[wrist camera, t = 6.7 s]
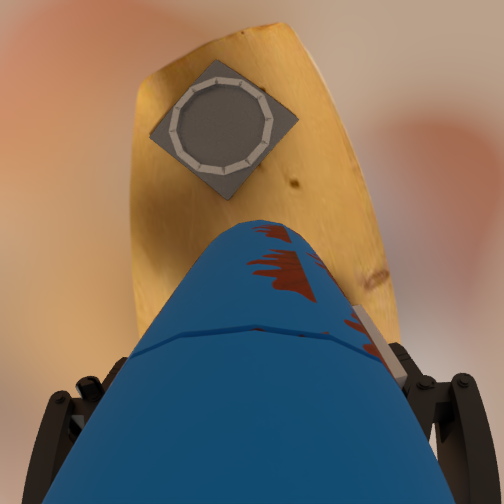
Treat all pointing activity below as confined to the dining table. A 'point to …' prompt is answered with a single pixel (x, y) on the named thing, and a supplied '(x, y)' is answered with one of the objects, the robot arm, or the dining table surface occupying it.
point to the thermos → (253, 395)
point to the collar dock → (223, 128)
